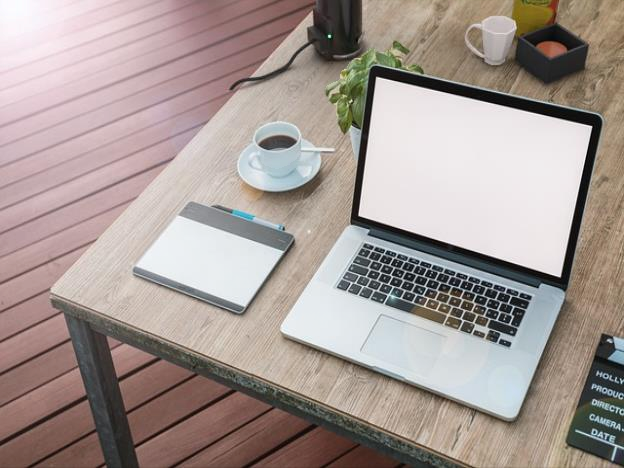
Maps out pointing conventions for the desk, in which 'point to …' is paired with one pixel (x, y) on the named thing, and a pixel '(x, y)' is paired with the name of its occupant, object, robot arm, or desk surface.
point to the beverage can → (533, 14)
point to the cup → (495, 38)
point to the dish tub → (553, 66)
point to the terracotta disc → (551, 48)
